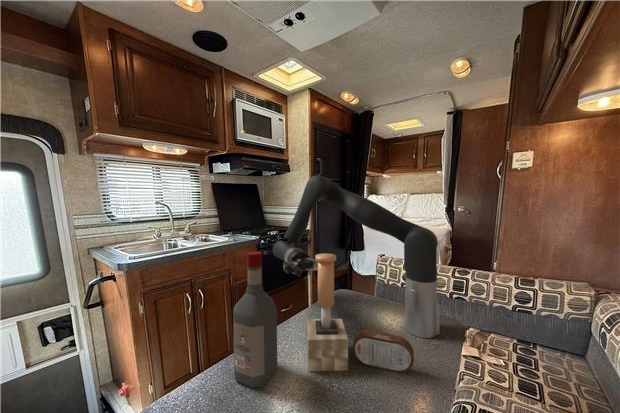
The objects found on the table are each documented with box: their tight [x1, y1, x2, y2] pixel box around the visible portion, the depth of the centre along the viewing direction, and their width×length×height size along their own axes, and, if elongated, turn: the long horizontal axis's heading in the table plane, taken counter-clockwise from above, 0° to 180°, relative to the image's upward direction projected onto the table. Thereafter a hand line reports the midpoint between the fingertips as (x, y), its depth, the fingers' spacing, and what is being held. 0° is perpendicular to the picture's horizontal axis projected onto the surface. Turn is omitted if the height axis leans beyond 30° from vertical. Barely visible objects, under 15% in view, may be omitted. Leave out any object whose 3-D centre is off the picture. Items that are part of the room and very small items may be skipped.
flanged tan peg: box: [315, 252, 337, 329], centre depth 63 cm, size 6×6×21 cm
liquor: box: [232, 250, 278, 389], centre depth 58 cm, size 9×9×30 cm
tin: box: [352, 329, 415, 374], centre depth 60 cm, size 15×3×8 cm, turn 71°
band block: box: [307, 318, 349, 372], centre depth 64 cm, size 10×10×9 cm
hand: (313, 271), depth 72 cm, fingers open, 8 cm apart
